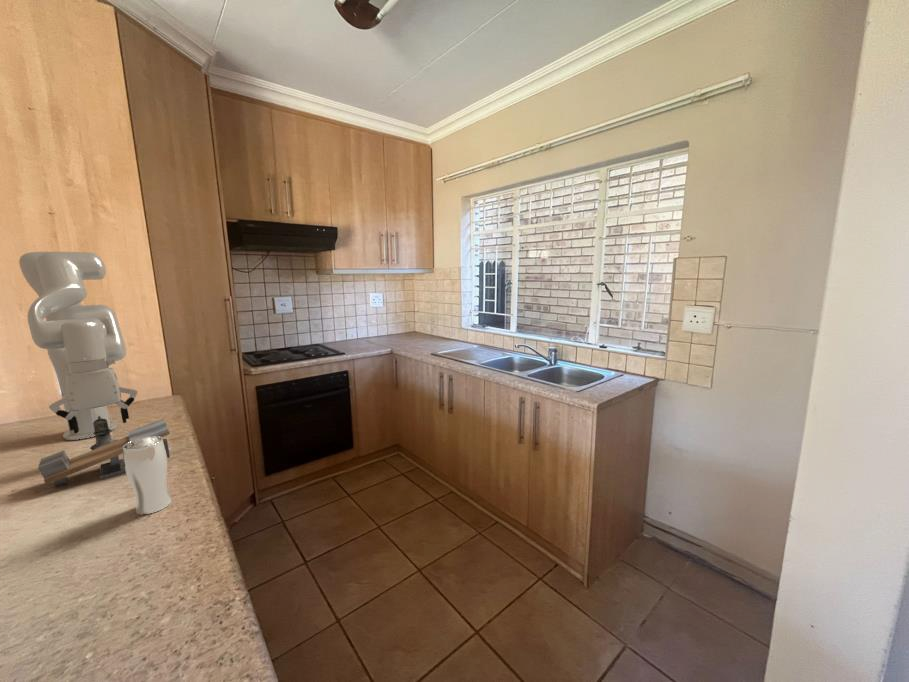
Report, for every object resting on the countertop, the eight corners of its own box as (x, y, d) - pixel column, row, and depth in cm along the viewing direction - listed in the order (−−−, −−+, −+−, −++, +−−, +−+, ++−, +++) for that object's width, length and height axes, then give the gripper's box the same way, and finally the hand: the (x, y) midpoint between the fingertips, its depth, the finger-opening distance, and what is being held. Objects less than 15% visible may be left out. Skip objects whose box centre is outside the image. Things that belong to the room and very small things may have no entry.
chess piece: (103, 462, 100) (95, 420, 98) (86, 460, 101) (78, 419, 99) (126, 452, 105) (118, 412, 103) (110, 450, 107) (102, 411, 104)
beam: (51, 469, 91) (42, 455, 90) (166, 424, 106) (160, 411, 105) (45, 486, 84) (36, 471, 83) (170, 435, 99) (164, 421, 97)
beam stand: (57, 479, 91) (53, 462, 91) (167, 450, 106) (165, 435, 105) (53, 493, 86) (49, 474, 85) (170, 460, 100) (168, 444, 99)
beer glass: (128, 520, 76) (115, 453, 73) (138, 502, 82) (126, 439, 79) (170, 510, 79) (159, 445, 76) (176, 493, 85) (166, 432, 82)
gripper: (131, 359, 107) (141, 415, 110) (43, 370, 95) (57, 432, 98) (132, 362, 101) (142, 421, 104) (39, 374, 90) (54, 440, 93)
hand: (101, 426), depth 101 cm, fingers open, 9 cm apart
